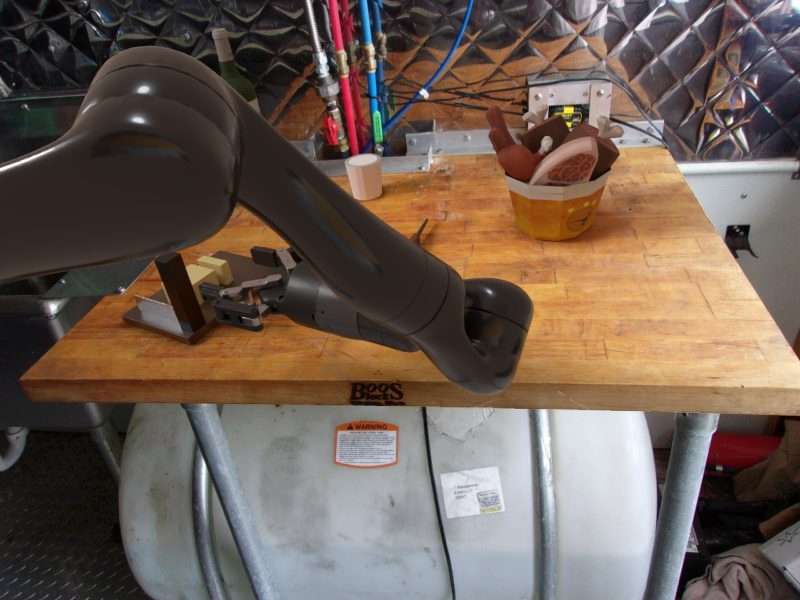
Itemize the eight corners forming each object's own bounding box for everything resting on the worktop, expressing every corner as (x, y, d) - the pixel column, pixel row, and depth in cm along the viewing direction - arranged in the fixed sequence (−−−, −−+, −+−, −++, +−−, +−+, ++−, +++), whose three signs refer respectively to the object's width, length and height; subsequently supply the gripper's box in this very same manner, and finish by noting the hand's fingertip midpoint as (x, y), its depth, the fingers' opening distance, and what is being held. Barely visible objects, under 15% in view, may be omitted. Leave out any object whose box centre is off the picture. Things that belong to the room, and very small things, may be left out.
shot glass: (384, 199, 110) (379, 164, 106) (348, 203, 111) (342, 168, 107) (385, 185, 116) (381, 151, 112) (351, 188, 116) (346, 154, 113)
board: (190, 345, 78) (188, 338, 78) (124, 322, 85) (120, 315, 84) (285, 271, 92) (283, 264, 91) (221, 256, 99) (219, 250, 98)
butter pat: (226, 285, 88) (220, 265, 86) (203, 279, 90) (196, 259, 88) (233, 280, 89) (227, 260, 87) (210, 274, 91) (203, 255, 89)
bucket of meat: (608, 202, 100) (620, 81, 88) (620, 251, 86) (636, 116, 75) (489, 204, 104) (487, 89, 93) (483, 251, 90) (479, 124, 79)
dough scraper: (206, 322, 80) (180, 253, 74) (193, 332, 79) (166, 262, 73) (146, 304, 86) (118, 238, 80) (133, 313, 84) (103, 246, 78)
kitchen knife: (404, 273, 88) (403, 261, 87) (396, 272, 88) (394, 260, 87) (432, 224, 100) (431, 213, 99) (424, 224, 100) (423, 213, 99)
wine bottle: (248, 173, 130) (209, 27, 113) (281, 172, 128) (246, 23, 111) (233, 188, 124) (189, 35, 107) (267, 187, 122) (228, 32, 105)
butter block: (192, 310, 83) (184, 290, 81) (168, 303, 86) (160, 283, 84) (221, 289, 87) (214, 269, 85) (197, 283, 90) (190, 263, 88)
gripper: (371, 236, 64) (261, 216, 72) (290, 307, 54) (172, 275, 62) (380, 293, 68) (275, 268, 76) (306, 368, 58) (194, 331, 66)
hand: (228, 271), depth 69 cm, fingers open, 8 cm apart
